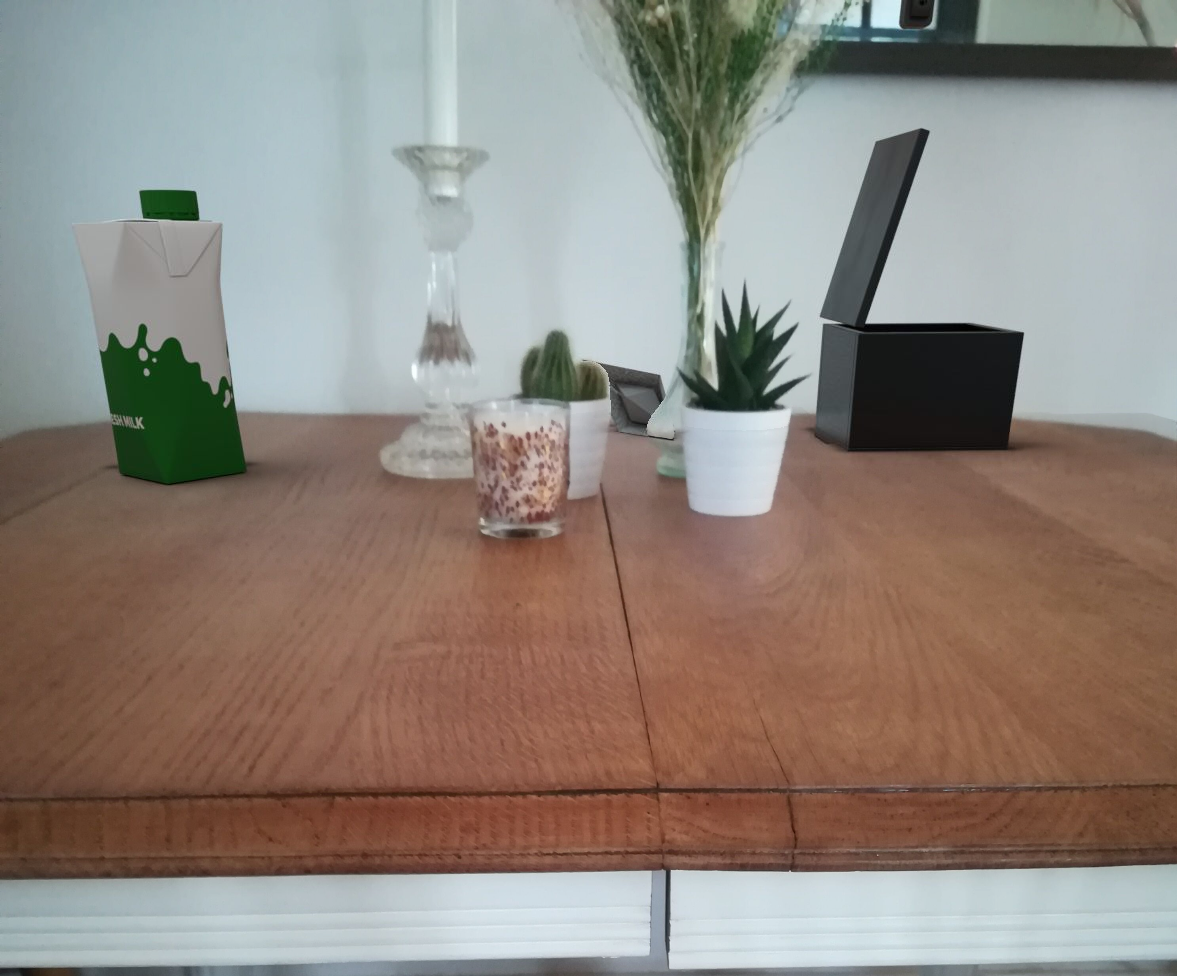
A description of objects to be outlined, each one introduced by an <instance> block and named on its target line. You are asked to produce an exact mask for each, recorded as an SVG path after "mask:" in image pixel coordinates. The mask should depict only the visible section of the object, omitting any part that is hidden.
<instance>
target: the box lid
mask: <svg viewBox="0 0 1177 976" xmlns="http://www.w3.org/2000/svg"><path fill="white" fill-rule="evenodd" d="M930 133H931V130H929V129H926V128H923V127H920V128H916V129H913V130H910V131H906V132H902V133H899V134H896V135H893V136H890V137H889V136H888V137H886V138H883V139H882V138H881V139H879V140H876V141H875V142H874V145H873V148H872V152H871V155H870V158H869V161H868V164H867V167H866V170H865V173H864V176H863V180H862V182H861V186H860V189H859V193H858V195H857V198H856V201H855V205H854V208H853V211H852V214H851V217H850V219H849V220H850V221H849V223H848V226H847V228H846V229H847V230H846V232H845V236H844V239H843V242H842V245H841V248H840V251H839V255H838V258H837V261H836V264H835V267H834V270H833V272H832V275H831V280H830V282H829V286H828V289H827V291H826V295H825V298H824V301H823V303H822V307H821V311H820V313H819V318H821V319H825V320H827V321H832V322H835V323H844V324H848V325H852V326H855V327H859V328H864V326H865V323H867V320H868V317H869V313H870V311H871V308H872V304H873V302H874V299H875V297H876V293H877V290H878V287H879V285H880V281H881V278H882V275H883V272H884V269H885V266H886V263H887V261H888V257H889V255H890V252H891V249H892V245H893V242H894V240H895V238H896V234H897V231H898V228H899V225H900V222H901V219H902V216H903V213H904V210H905V207H906V204H907V201H908V198H909V195H910V192H911V189H912V186H913V184H914V180H915V178H916V175H917V172H918V168H919V166H920V163H921V160H922V157H923V155H924V150H925V148H926V145H927V142H928V139H929V136H930Z"/></svg>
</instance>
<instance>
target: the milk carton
mask: <svg viewBox="0 0 1177 976" xmlns="http://www.w3.org/2000/svg"><path fill="white" fill-rule="evenodd" d="M138 194H139V199H140V209H141V214H142V218H122V219H113V220H104V221H99V222H98V221H97V222H96V221H95V222H72V223H71V228H72V231H73V232H72V233H73V235H74V239H75V242H76V245H77V249H78V253H79V257H80V260H81V264H82V267H83V271H84V275H85V278H86V283H87V288H88V293H89V299H90V304H91V310H92V316H93V322H94V328H95V334H96V339H97V344H98V351H99V355H100V356H99V357H100V362H101V368H102V374H103V381H104V386H105V392H106V399H107V403H108V409H109V416H110V422H111V429H112V435H113V441H114V447H115V453H116V459H117V466H118V472H119V474H120V475H125V476H130V477H134V478H139V479H143V480H148V481H153V482H157V483H161V484H166V485H170V484H176V483H184V482H190V481H195V480H202V479H208V478H214V477H221V476H226V475H235V474H240V473H246V472H247V470H248V469H247V464H246V457H245V453H244V446H243V441H242V436H241V435H242V434H241V430H240V429H241V428H240V425H239V419H238V418H239V417H238V413H237V406H236V401H235V400H236V399H235V392H234V385H233V377H232V368H231V361H230V352H229V344H228V337H227V328H226V322H225V313H224V305H223V295H222V289H221V271H222V270H221V269H222V249H223V248H222V247H223V246H222V245H223V244H222V243H223V223H222V222H221V221H213V220H200V219H201V218H200V210H199V209H200V208H199V202H198V195H197V191H196V190H189V189H188V190H187V189H142V190H141V189H140V190H139V192H138Z"/></svg>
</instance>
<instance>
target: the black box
mask: <svg viewBox="0 0 1177 976" xmlns="http://www.w3.org/2000/svg"><path fill="white" fill-rule="evenodd" d="M821 330H822V331H821V343H820V355H819V356H820V357H819V370H818V383H817V396H816V406H815V407H816V408H815V420H814V421H815V422H814V434H813V435H814V436H815V437H816V438H817V439H818V440H820V441H822V442H823V443H825V444H826V445H837V446H839V447H840V448H842V449H843V450H845V451H847V452H855V453H856V452H937V451H938V452H941V451H942V452H943V451H945V452H946V451H1007V450H1008V449H1009V447H1008V446H1009V440H1010V433H1011V426H1012V419H1013V414H1014V406H1015V399H1016V392H1017V385H1018V378H1019V372H1020V365H1021V357H1022V351H1023V344H1024V337H1025V332H1024V331H1021V330H1020V331H1019V330H1014V329H1009V328H1003V327H998V326H992V325H986V324H980V323H975V322H869V323H867V322H866V323H865V326H864V328H859V327H855V326H852V325H848V324H844V323H840V322H837V323H822V329H821ZM814 436H813V437H814Z"/></svg>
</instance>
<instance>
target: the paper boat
mask: <svg viewBox="0 0 1177 976" xmlns="http://www.w3.org/2000/svg"><path fill="white" fill-rule="evenodd" d="M583 361H589V360H588V359H583V358H582V362H583ZM591 361H592V360H591ZM592 362H594V361H592ZM595 362H596V363H598V364H600V365H601V366H602V367H603V368H604V369H605V370H606V372H607V373H608V377H609V382H610V385H609V386H610V400H611V415H610V417H611V419H612V420H613V423H614V425H615V426H616V428H617V431H618V433H624V434H631V435H638V436H642V437H643V436H644V437H649V436H648V434H647V430H646V428H647V424H648V421H649V419H650V418H651V415H652V414H653V413H654V412H655V410H656V409H657V408H658V407H659V405H660V404H661V402H662V401H663V400H664V398H665V396H666V397H667V394H666V391H665V387H664V384H663V380H662V376H661V374H659V373H653V372H648V371H642V370H638V369H632V368H627V367H622V366H619V365H612V364H606V363H602V362H598V361H595Z"/></svg>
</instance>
